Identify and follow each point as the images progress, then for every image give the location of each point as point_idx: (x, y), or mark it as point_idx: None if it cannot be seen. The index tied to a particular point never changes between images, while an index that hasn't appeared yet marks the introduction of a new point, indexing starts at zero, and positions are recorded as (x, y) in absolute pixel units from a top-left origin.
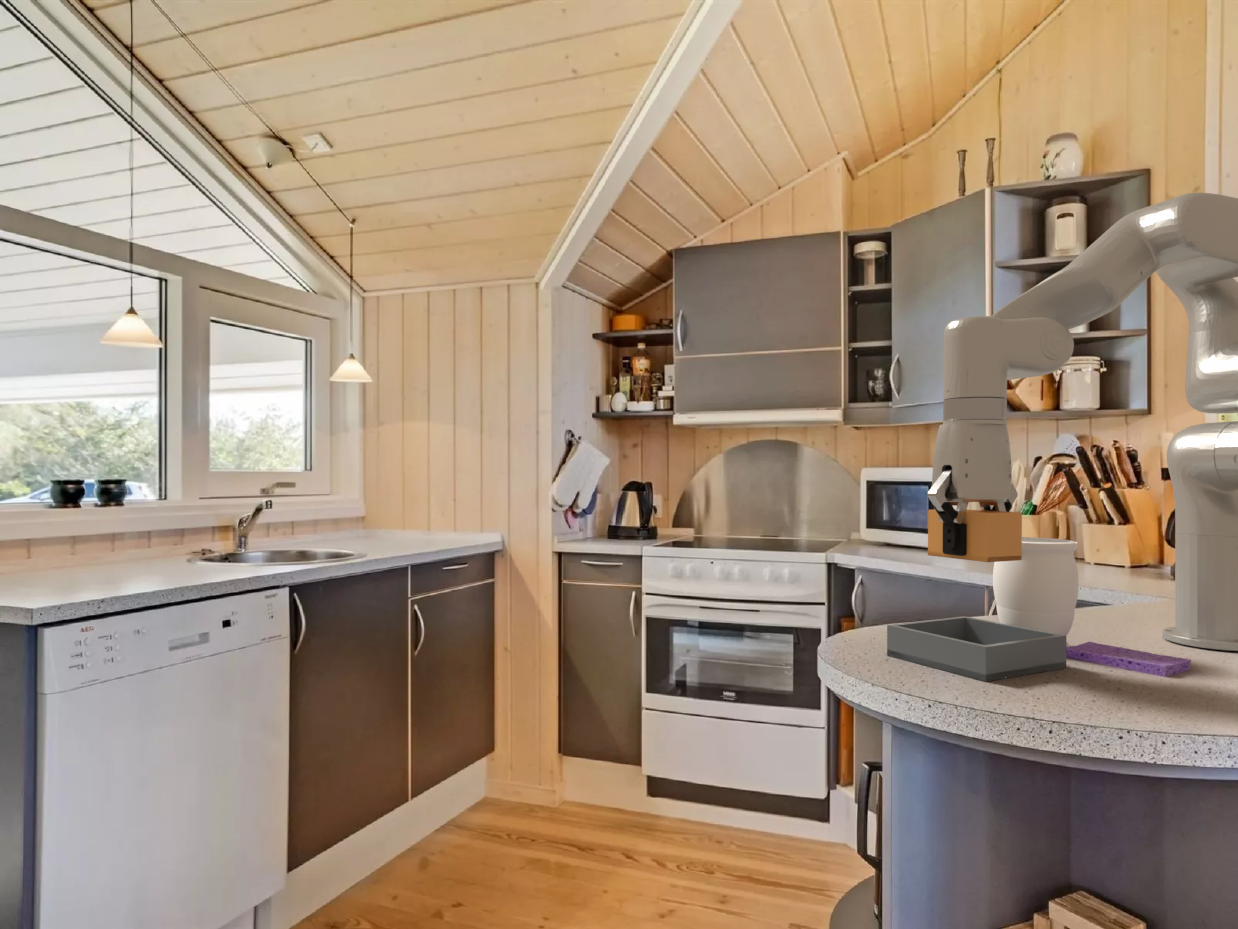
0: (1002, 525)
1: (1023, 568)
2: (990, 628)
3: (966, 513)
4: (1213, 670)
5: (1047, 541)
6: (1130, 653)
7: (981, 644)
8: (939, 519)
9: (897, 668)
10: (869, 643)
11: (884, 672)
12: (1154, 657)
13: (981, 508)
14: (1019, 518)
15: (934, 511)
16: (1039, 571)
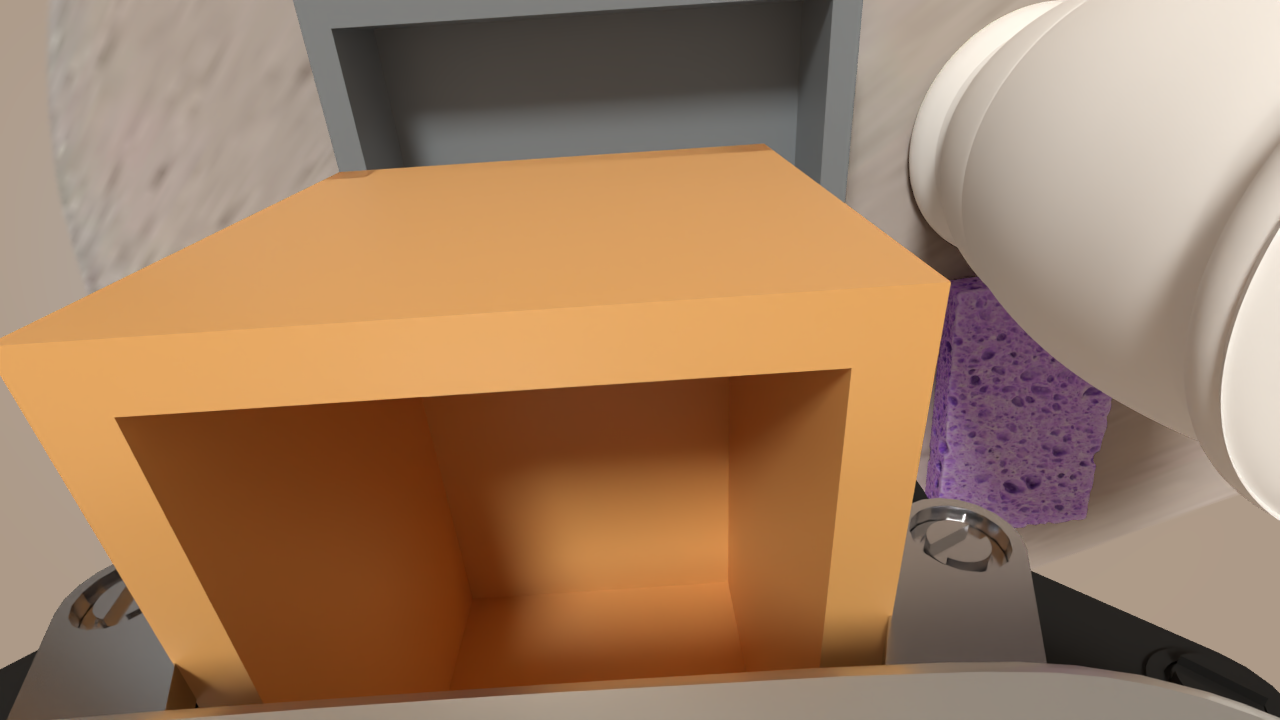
0: None
1: (1086, 315)
2: (814, 147)
3: None
4: (1102, 523)
5: None
6: (1045, 421)
7: (791, 96)
8: (86, 585)
9: (278, 191)
10: None
11: (204, 217)
12: (1043, 470)
13: (889, 645)
14: None
15: (77, 455)
16: (1098, 378)
